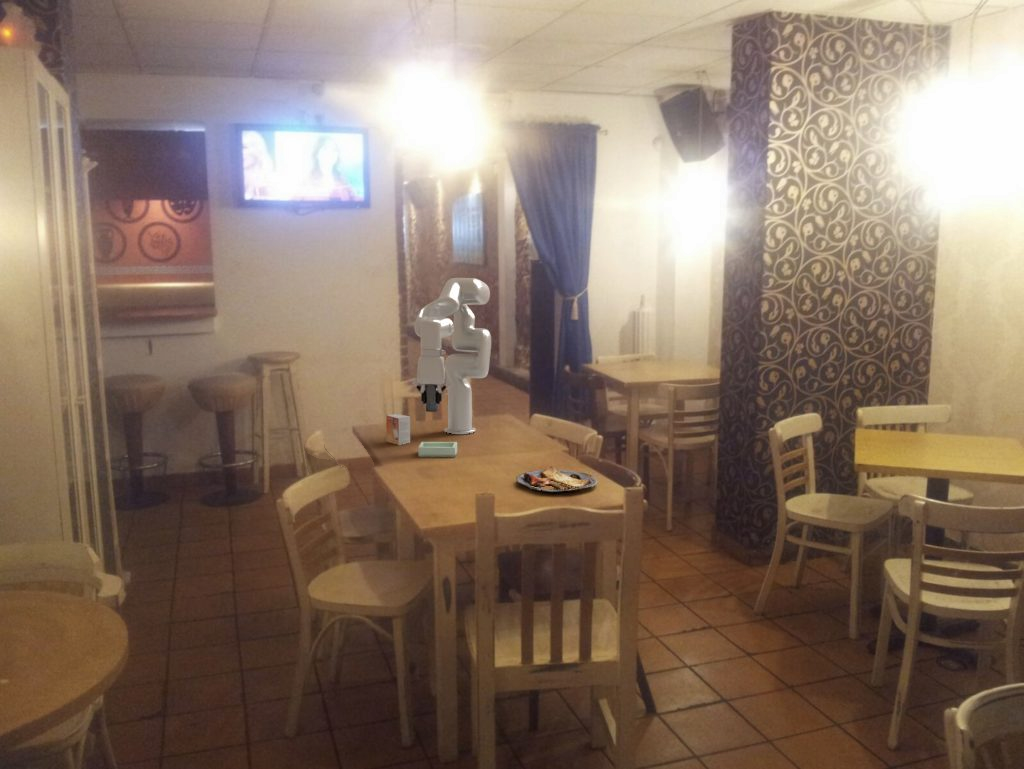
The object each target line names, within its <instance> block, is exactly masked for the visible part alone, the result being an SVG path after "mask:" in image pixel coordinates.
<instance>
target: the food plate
mask: <svg viewBox="0 0 1024 769" xmlns="http://www.w3.org/2000/svg"><path fill="white" fill-rule="evenodd" d="M515 480H516V482H517V483H519V484H521V485H524V486H526V487H528V488H529V489H530V490H532V489H533V490H532V491H541V490H542V492H551V493H565V492H564V491H569V492H573V491H572V490H574V491H579V490H582V489H587V488H591V487H594V486H595V485H596V484H597V483H598V480H597V478H595V476H593V475H591V474H590V473H585V472H581V471H576V470H575V471H574V470H569V469H567V470H566V469H556V468H555V467H554V466H549V467H547V468H546V469H537V470H532V471H531V470H530V471H526V472H523V473H521V474H519V475H517V476H516V478H515ZM550 481H554V482H557V483H561V484H557V483H551V482H550ZM563 484H564V485H563ZM567 485H568V486H567ZM586 485H588V486H586ZM531 486H534V487H539V488H534V487H531ZM545 486H552V487H554V488H556V489H559V490H556V489H555V490H553V489H552V490H547V489H540V488H541V487H545ZM569 486H571V487H575V488H578V489H579V490H578V489H574V488H570V487H569ZM569 489H571V490H569Z"/></svg>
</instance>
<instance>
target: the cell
mask: <svg viewBox="0 0 1024 769" xmlns="http://www.w3.org/2000/svg"><path fill="white" fill-rule="evenodd" d="M437 393H438V388H437V385H434V384H427V385H425V404H424V405H425V406H424V408H425V409H424V410H425V411H424V412H428V413H435V412H438V411H439V404H437Z"/></svg>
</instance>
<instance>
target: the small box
mask: <svg viewBox="0 0 1024 769" xmlns="http://www.w3.org/2000/svg"><path fill="white" fill-rule="evenodd" d="M385 417H386V419H385V420H386V422H385V424H386V426H385V427H386V428H385V429H386V433H385V434H386V437H385V438H386V442H387V443H390V444H393V445H396V444H397V446H401V445H402V444H403V445H407V444H406V443H409V444H410V443H411V416H409V415H404V414H401V413H400V414H399V413H393V414H388V415H386V416H385Z"/></svg>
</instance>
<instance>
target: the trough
mask: <svg viewBox="0 0 1024 769" xmlns="http://www.w3.org/2000/svg"><path fill="white" fill-rule="evenodd" d="M457 453H458V441H420V444H419V445H418V458H456V456H457Z"/></svg>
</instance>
